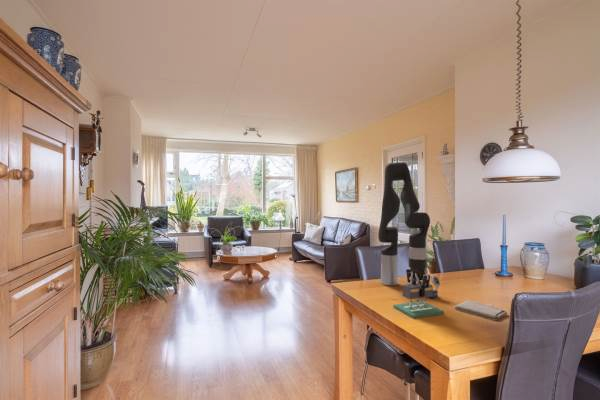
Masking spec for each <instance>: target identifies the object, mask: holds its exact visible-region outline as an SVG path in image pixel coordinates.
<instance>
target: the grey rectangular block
mask: <svg viewBox="0 0 600 400" xmlns="http://www.w3.org/2000/svg"><path fill="white" fill-rule="evenodd" d="M421 285H422V283H421ZM425 285H426V284H425ZM433 286H434V284H430V283H429V288H425V296H424V297H420V296H419V289H420V288H419V284H418V283H417V282H416V284H410V283H409V284H402V297H404V298H406V299H408V300H414V299H415V300H416V299H417V300H418V299H425V298H426V297H433V290H434V289H433Z"/></svg>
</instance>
